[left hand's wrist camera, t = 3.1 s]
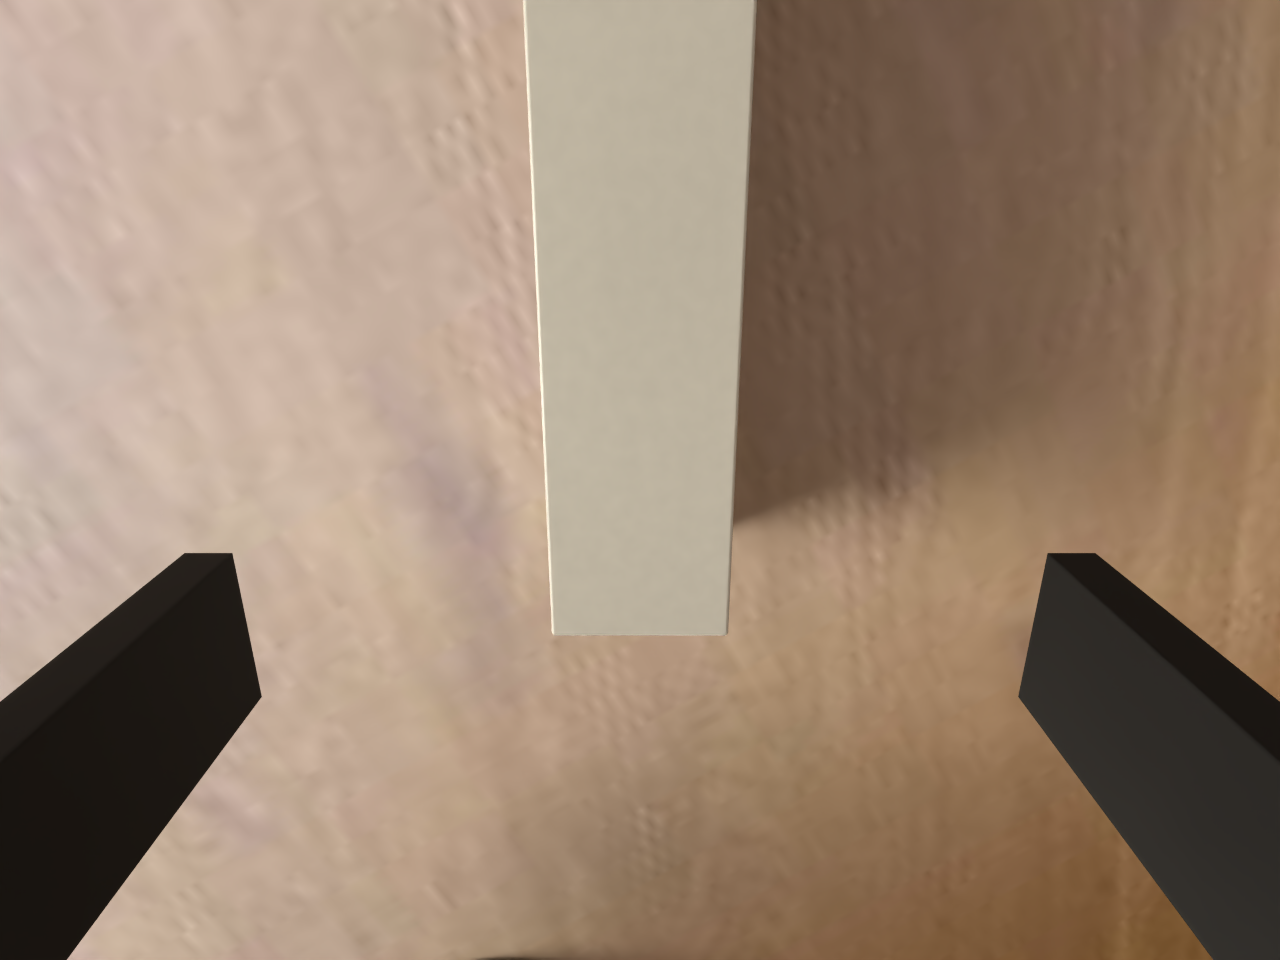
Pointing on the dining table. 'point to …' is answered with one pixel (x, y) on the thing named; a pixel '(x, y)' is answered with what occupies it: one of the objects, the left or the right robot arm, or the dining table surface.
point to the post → (640, 302)
